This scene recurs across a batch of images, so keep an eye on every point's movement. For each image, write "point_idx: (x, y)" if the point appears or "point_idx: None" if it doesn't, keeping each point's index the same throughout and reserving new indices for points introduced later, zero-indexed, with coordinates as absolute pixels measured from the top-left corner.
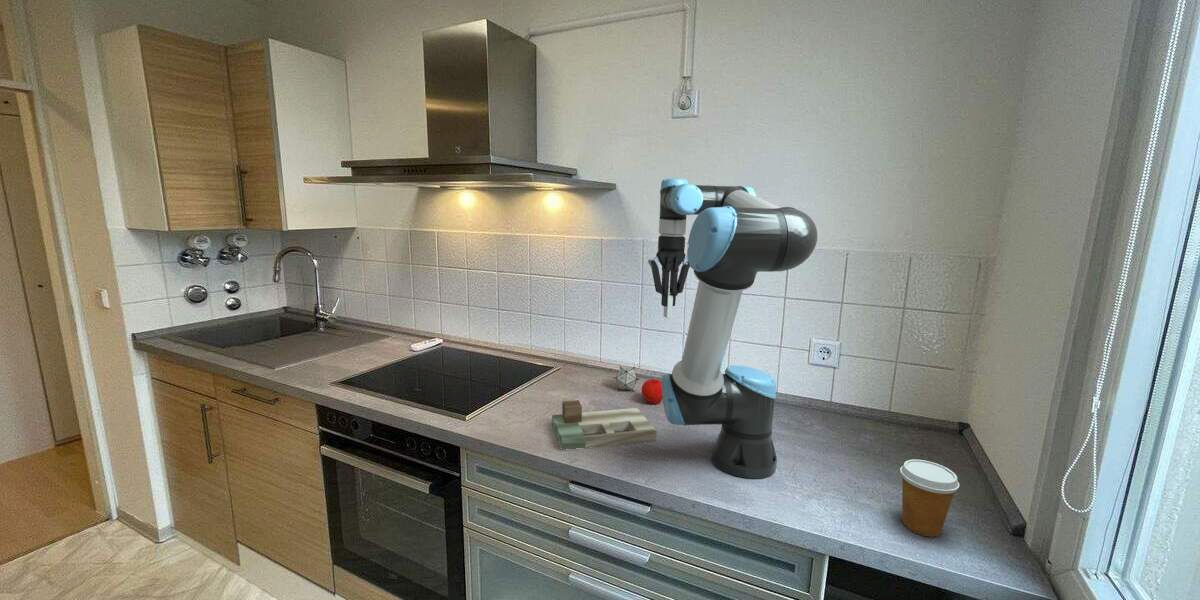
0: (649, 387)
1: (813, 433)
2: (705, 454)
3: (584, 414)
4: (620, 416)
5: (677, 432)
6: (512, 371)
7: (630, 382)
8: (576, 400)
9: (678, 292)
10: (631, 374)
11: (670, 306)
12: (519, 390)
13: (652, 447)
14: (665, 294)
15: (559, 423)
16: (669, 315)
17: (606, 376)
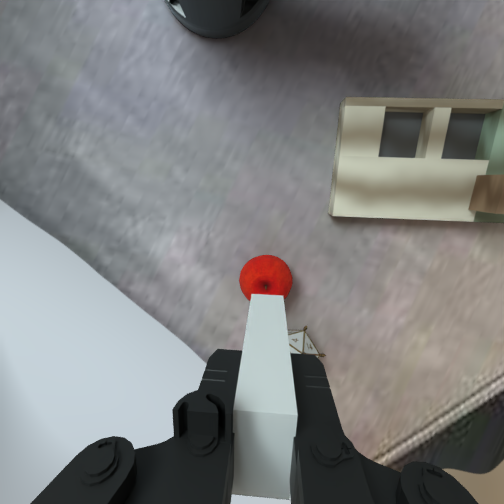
0: (282, 272)
1: (21, 58)
2: (272, 21)
3: (453, 211)
4: (385, 183)
5: (281, 130)
6: (466, 469)
7: (293, 333)
8: (501, 212)
9: (137, 460)
10: (290, 348)
11: (263, 335)
12: (491, 384)
13: (358, 78)
14: (336, 440)
15: None
16: (268, 301)
17: None
